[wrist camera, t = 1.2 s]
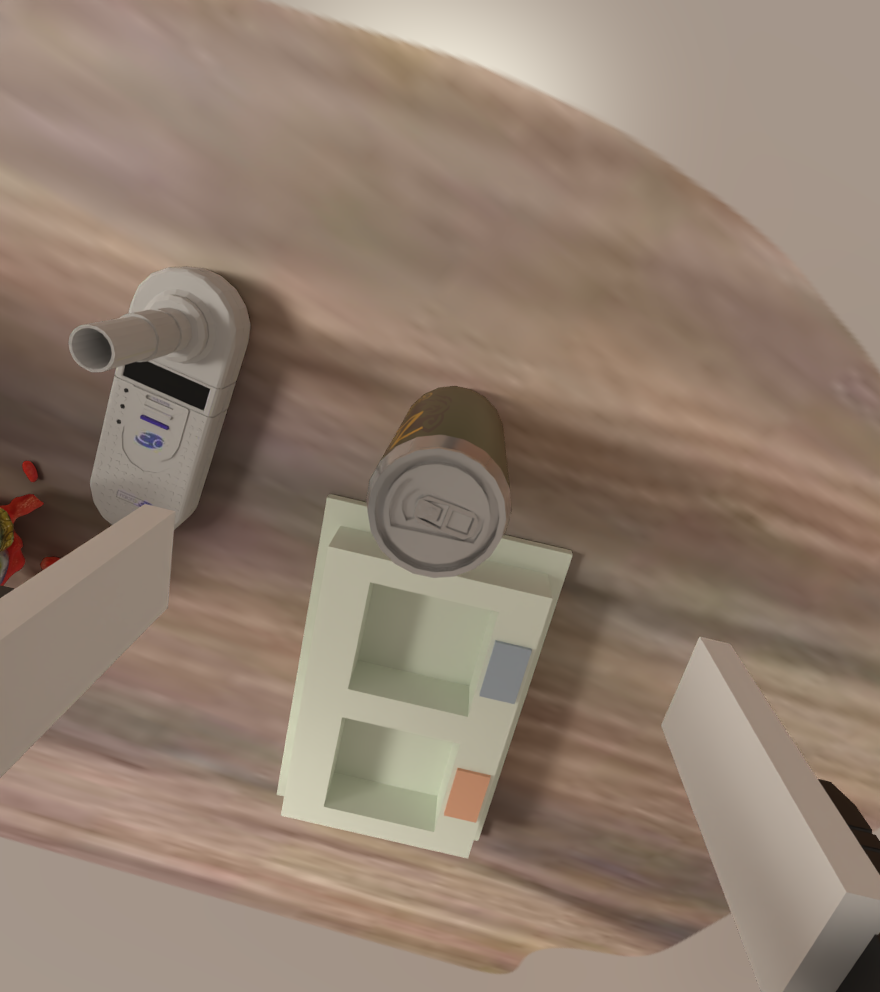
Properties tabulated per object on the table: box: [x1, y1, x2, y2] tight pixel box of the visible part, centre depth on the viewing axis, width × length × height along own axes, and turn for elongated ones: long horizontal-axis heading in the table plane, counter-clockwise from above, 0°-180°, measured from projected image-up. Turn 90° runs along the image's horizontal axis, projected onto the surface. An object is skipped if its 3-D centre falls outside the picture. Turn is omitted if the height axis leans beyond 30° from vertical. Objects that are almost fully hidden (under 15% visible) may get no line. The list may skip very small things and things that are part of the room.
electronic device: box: [69, 267, 251, 530], centre depth 29 cm, size 5×10×15 cm
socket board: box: [277, 494, 573, 858], centre depth 37 cm, size 14×22×4 cm, turn 167°
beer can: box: [366, 386, 512, 578], centre depth 27 cm, size 5×5×12 cm
